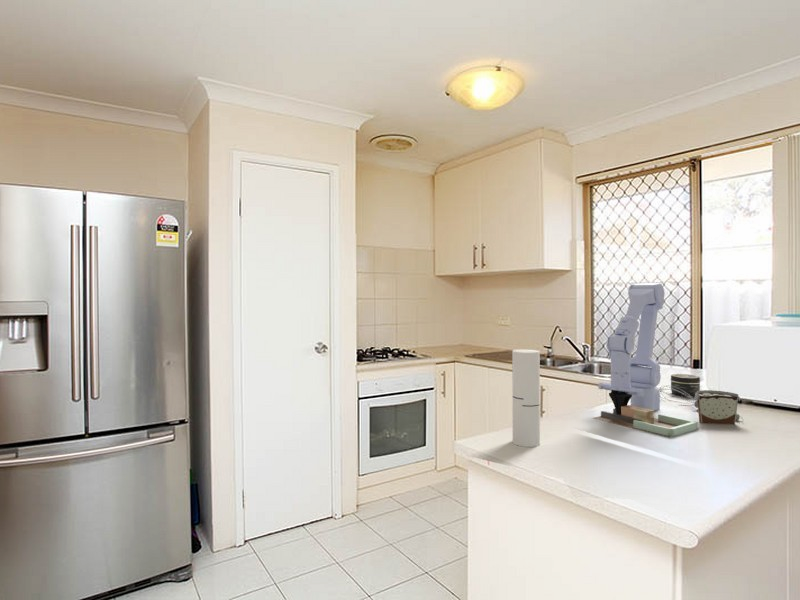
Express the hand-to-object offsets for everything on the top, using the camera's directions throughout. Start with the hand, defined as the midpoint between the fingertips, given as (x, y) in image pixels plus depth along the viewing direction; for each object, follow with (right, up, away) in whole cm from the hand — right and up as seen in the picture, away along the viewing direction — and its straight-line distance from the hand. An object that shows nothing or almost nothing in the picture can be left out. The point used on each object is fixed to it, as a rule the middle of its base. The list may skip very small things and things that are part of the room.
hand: (620, 415), depth 147 cm
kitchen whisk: (+33, -2, +14) cm, 36 cm away
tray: (+7, -1, -12) cm, 14 cm away
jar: (+44, -1, +37) cm, 57 cm away
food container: (+26, -2, -5) cm, 27 cm away
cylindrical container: (-36, -2, -22) cm, 42 cm away
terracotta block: (+2, -1, -3) cm, 4 cm away
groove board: (+4, -2, -7) cm, 8 cm away
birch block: (+4, -1, -6) cm, 8 cm away
